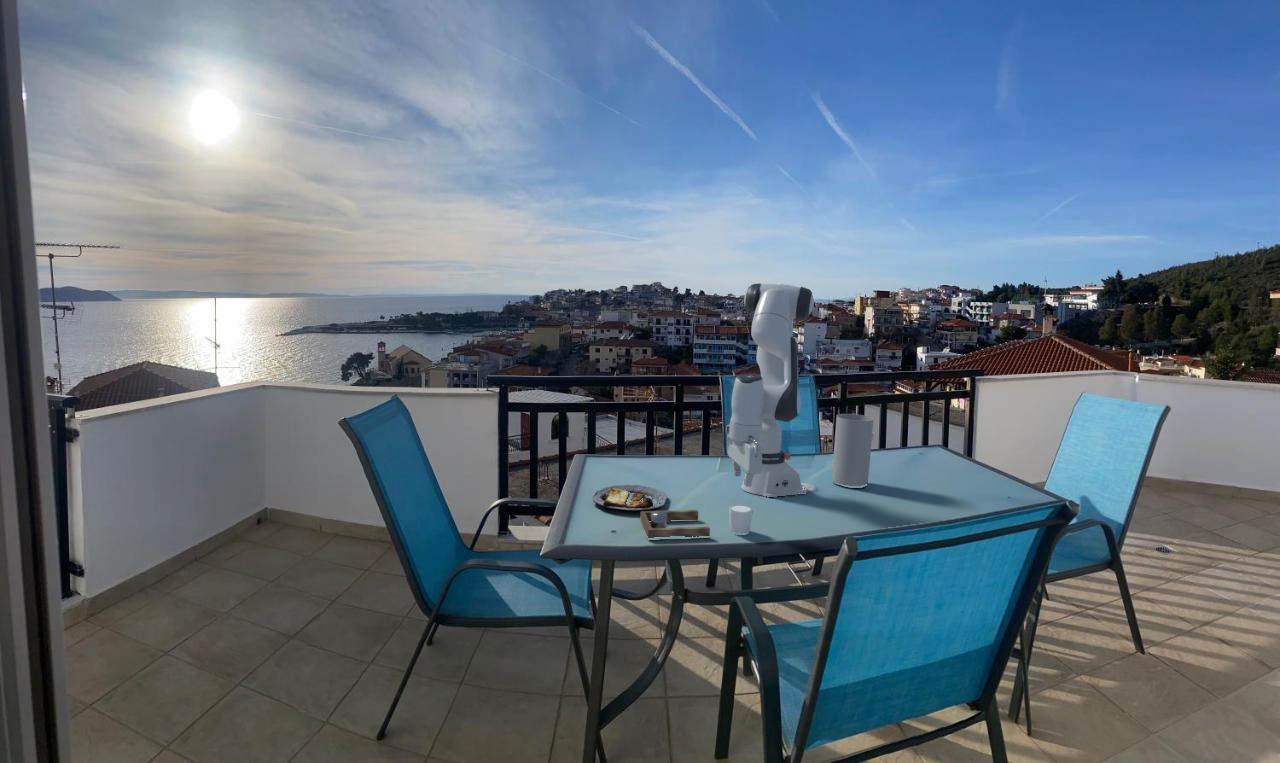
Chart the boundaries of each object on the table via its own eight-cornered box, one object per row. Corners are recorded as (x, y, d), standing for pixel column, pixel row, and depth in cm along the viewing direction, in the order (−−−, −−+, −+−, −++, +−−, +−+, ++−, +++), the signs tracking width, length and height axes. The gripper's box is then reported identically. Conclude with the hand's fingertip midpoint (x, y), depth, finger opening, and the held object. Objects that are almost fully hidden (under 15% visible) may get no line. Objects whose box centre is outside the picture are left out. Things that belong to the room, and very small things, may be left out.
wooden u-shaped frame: (696, 519, 179) (697, 509, 179) (709, 538, 165) (709, 528, 164) (640, 521, 176) (640, 511, 176) (648, 540, 162) (648, 530, 162)
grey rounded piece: (665, 526, 173) (665, 510, 172) (668, 533, 168) (668, 516, 167) (649, 527, 172) (649, 510, 171) (651, 533, 167) (652, 516, 167)
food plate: (660, 518, 179) (661, 507, 178) (585, 512, 182) (585, 501, 182) (670, 494, 203) (670, 484, 203) (603, 489, 207) (603, 479, 206)
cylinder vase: (849, 477, 227) (854, 413, 224) (875, 487, 216) (881, 419, 212) (824, 481, 222) (829, 415, 218) (849, 491, 211) (854, 421, 207)
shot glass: (725, 527, 174) (726, 504, 173) (748, 527, 174) (749, 504, 173) (730, 536, 167) (731, 512, 166) (754, 536, 167) (755, 512, 166)
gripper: (769, 441, 157) (765, 492, 158) (744, 425, 177) (741, 470, 179) (746, 441, 156) (743, 492, 158) (724, 424, 176) (721, 470, 178)
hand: (742, 480), depth 168 cm, fingers open, 8 cm apart
